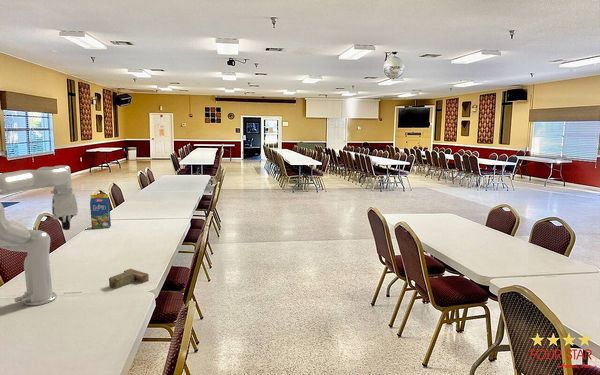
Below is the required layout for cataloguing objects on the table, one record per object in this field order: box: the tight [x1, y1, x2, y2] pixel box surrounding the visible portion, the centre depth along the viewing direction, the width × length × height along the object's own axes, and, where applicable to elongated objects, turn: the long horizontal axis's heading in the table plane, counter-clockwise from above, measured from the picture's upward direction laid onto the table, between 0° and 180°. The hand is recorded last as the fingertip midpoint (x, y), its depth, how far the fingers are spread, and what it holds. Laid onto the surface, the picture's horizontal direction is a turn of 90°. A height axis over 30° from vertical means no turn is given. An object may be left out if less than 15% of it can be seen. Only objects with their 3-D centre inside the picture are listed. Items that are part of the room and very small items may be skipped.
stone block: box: [108, 271, 135, 289], centre depth 204 cm, size 6×12×5 cm, turn 151°
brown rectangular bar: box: [123, 268, 150, 284], centre depth 211 cm, size 4×14×4 cm, turn 57°
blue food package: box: [89, 193, 112, 229], centre depth 312 cm, size 6×12×25 cm, turn 104°
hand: (66, 229), depth 201 cm, fingers closed
